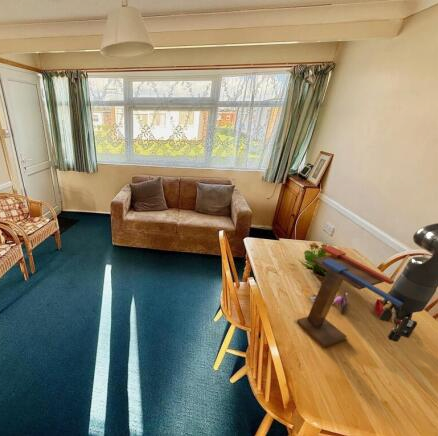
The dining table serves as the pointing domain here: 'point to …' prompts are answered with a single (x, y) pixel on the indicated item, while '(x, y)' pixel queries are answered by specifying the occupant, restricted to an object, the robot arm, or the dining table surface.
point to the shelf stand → (331, 301)
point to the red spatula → (355, 263)
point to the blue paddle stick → (359, 280)
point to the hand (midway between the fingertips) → (387, 329)
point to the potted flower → (310, 256)
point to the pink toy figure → (341, 301)
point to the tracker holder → (381, 308)
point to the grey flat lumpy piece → (313, 298)
